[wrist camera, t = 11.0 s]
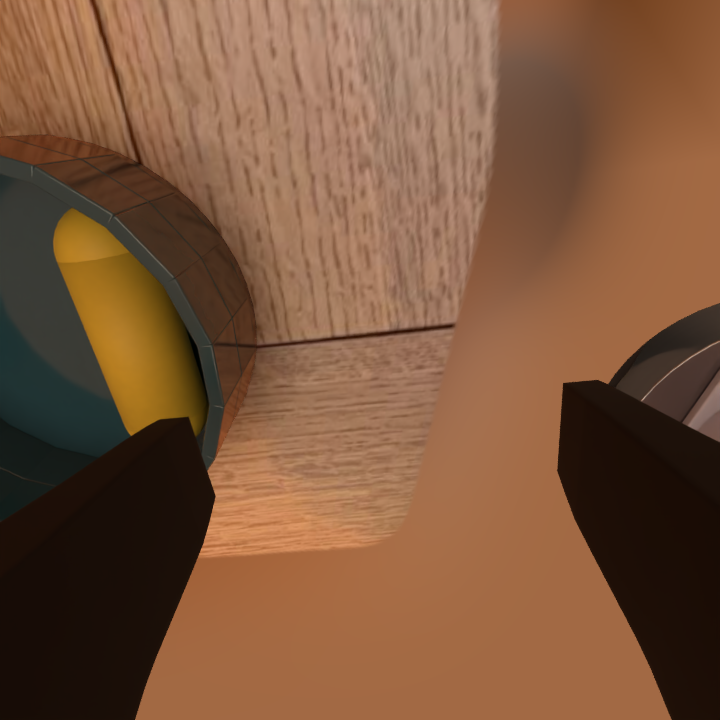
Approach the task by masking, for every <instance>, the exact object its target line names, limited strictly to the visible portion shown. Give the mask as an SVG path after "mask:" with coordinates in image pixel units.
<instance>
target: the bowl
mask: <svg viewBox="0 0 720 720" xmlns="http://www.w3.org/2000/svg"><path fill="white" fill-rule="evenodd" d="M71 208H74V209H76V210H77V211H79V212H81V213H82V214H84V215H85V216H87V217H89V218H90V219H92V220H94V221H95V222H97V223H99V224H100V225H102V226H104V227H105V228H107V230H108V231H109V232H110V233H111V234H112V235H113V236H114V237H115V238H116V239H117V240H118V241H119V242H120V243H121V244H122V245H123V246H124V247H125V248H126V249H127V250H128V251H129V252H130V253H131V254H132V255H133V256H134V257H135V258H136V259H137V260H138V261H139V262H140V263H141V264H142V265H143V266H144V267H145V268H146V269H147V270H148V271H149V272H150V273H151V274H152V275H153V276H154V277H155V278H156V279H157V280H158V281H159V282H160V283H161V284H162V285H163V287H164V289H165V290H166V292H167V294H168V296H169V298H170V299H171V301H172V303H173V305H174V306H175V308H176V310H177V312H178V313H179V315H180V317H181V319H182V321H183V322H184V324H185V327H186V330H187V333H188V337H189V340H190V343H191V346H192V350H193V353H194V356H195V359H196V362H197V366H198V369H199V372H200V375H201V378H202V382H203V385H204V388H205V391H206V394H207V398H208V403H209V410H208V416H207V421H206V424H205V426H204V428H203V429H202V431H201V433H200V434H199V435H198V436H197V437H196V440H197V443H198V446H199V449H200V451H201V454H202V457H203V460H204V463H205V466H206V469H207V470H208V469H209V467H210V466H211V464H212V463H213V461H214V460H215V458H216V456H217V454H218V452H219V450H220V448H221V446H222V444H223V442H224V440H225V438H226V436H227V433H228V431H229V429H230V427H231V425H232V423H233V421H234V419H235V417H236V415H237V413H238V411H239V409H240V407H241V405H242V403H243V401H244V399H245V397H246V394H247V390H248V385H249V383H250V379H251V376H252V372H253V369H254V365H255V357H256V349H257V337H256V322H255V316H254V310H253V304H252V301H251V298H250V294H249V291H248V288H247V284H246V282H245V280H244V277H243V275H242V273H241V271H240V268H239V266H238V264H237V262H236V260H235V258H234V257H233V255H232V253H231V252H230V250H229V248H228V247H227V245H226V243H225V242H224V240H223V239H222V237H221V236H220V235H219V233H218V232H217V231H216V229H215V228H214V227H213V225H212V224H211V223H210V222H209V220H208V219H207V218H206V217H205V216H204V215H203V214H202V213H201V212H200V211H199V210H198V209H197V207H196V206H195V205H194V204H193V203H192V202H191V201H190V200H189V199H188V198H187V197H185V196H184V195H183V194H182V193H181V192H179V191H178V190H177V189H176V188H175V187H173V186H172V185H171V184H170V183H169V182H167V181H166V180H164V179H163V178H161V177H160V176H158V175H157V174H155V173H154V172H152V171H151V170H149V169H148V168H146V167H145V166H143V165H141V164H139V163H137V162H135V161H133V160H131V159H129V158H127V157H125V156H123V155H121V154H119V153H117V152H114V151H111V150H109V149H106V148H103V147H100V146H98V145H95V144H92V143H88V142H83V141H79V140H74V139H70V138H66V137H56V136H53V135H26V136H4V137H0V522H1V521H3V520H4V519H6V518H7V517H9V516H10V515H12V514H14V513H15V512H17V511H18V510H20V509H21V508H23V507H25V506H26V505H28V504H29V503H31V502H32V501H34V500H36V499H37V498H39V497H40V496H42V495H43V494H45V493H47V492H48V491H50V490H51V489H53V488H54V487H56V486H57V485H59V484H61V483H62V482H64V481H65V480H67V479H68V478H69V477H71V476H72V475H74V474H75V473H77V472H78V471H80V470H81V469H83V468H84V467H86V466H87V465H89V464H90V463H92V462H93V461H95V460H96V459H98V458H99V457H100V456H102V455H103V454H105V453H106V452H108V451H109V450H111V449H112V448H114V447H115V446H117V445H118V444H120V443H121V442H123V441H124V440H126V439H127V438H129V437H130V436H131V435H130V434H129V433H128V431H127V430H126V428H125V426H124V424H123V421H122V419H121V416H120V414H119V411H118V409H117V407H116V404H115V402H114V399H113V397H112V394H111V392H110V390H109V387H108V385H107V382H106V380H105V377H104V375H103V373H102V370H101V368H100V365H99V363H98V360H97V358H96V356H95V353H94V351H93V348H92V346H91V343H90V341H89V339H88V336H87V334H86V331H85V329H84V326H83V324H82V322H81V319H80V317H79V314H78V312H77V309H76V307H75V305H74V302H73V300H72V297H71V295H70V292H69V290H68V288H67V285H66V283H65V280H64V278H63V275H62V273H61V271H60V268H59V266H58V263H57V261H56V257H55V254H54V248H53V238H54V232H55V229H56V227H57V224H58V222H59V220H60V219H61V218H62V216H63V215H64V214H65V213H66V212H67V211H68V210H70V209H71Z"/></svg>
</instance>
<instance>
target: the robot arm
mask: <svg viewBox="0 0 720 720" xmlns="http://www.w3.org/2000/svg"><path fill="white" fill-rule="evenodd" d="M557 471H558V474H559V477H560V480H561V483H562V486H563V489H564V492H565V494H566V497H567V500H568V503H569V505H570V508H571V511H572V513H573V516H574V519H575V521H576V523H577V525H578V527H579V529H580V531H581V533H582V535H583V536H584V538H585V540H586V542H587V544H588V546H589V548H590V550H591V552H592V554H593V556H594V558H595V560H596V562H597V564H598V565H599V567H600V569H601V571H602V573H603V575H604V577H605V579H606V581H607V583H608V585H609V587H610V588H611V590H612V592H613V594H614V596H615V598H616V600H617V602H618V604H619V606H620V608H621V610H622V611H623V613H624V615H625V617H626V619H627V621H628V623H629V625H630V627H631V629H632V631H633V632H634V634H635V636H636V638H637V641H638V643H639V645H640V646H641V649H642V651H643V653H644V655H645V657H646V659H647V661H648V664H649V666H650V668H651V670H652V673H653V675H654V678H655V680H656V683H657V685H658V687H659V690H660V692H661V695H662V697H663V700H664V702H665V705H666V707H667V709H668V712H669V714H670V716H671V719H672V720H720V370H719V371H718V373H717V374H716V376H715V377H714V378H713V380H712V381H711V383H710V384H709V385H708V387H707V388H706V390H705V391H704V393H703V394H702V395H701V397H700V398H699V400H698V401H697V402H696V404H695V405H694V407H693V408H692V410H691V411H690V412H689V414H688V415H687V417H686V418H685V419H684V421H683V422H682V423H681V422H679V421H677V420H675V419H673V418H672V417H670V416H668V415H666V414H664V413H662V412H660V411H658V410H656V409H655V408H653V407H651V406H649V405H647V404H645V403H643V402H641V401H639V400H638V399H636V398H634V397H632V396H630V395H628V394H626V393H624V392H622V391H620V390H618V389H616V388H614V387H612V386H610V385H608V384H606V383H604V382H601V381H599V380H592V381H581V382H569V383H563V394H562V409H561V424H560V439H559V454H558V469H557ZM215 497H216V496H215V493H214V490H213V487H212V484H211V481H210V478H209V475H208V472H207V469H206V466H205V463H204V460H203V457H202V454H201V451H200V449H199V446H198V443H197V440H196V437H195V434H194V431H193V428H192V425H191V422H190V419H189V417H179V418H168V419H159V420H157V421H155V422H153V423H152V424H150V425H148V426H146V427H145V428H143V429H141V430H140V431H138V432H137V433H135V434H133V435H132V436H130V437H129V438H127V439H126V440H124V441H123V442H121V443H120V444H118V445H117V446H115V447H114V448H112V449H111V450H109V451H108V452H106V453H105V454H103V455H102V456H100V457H99V458H98V459H96V460H95V461H93V462H92V463H90V464H89V465H87V466H86V467H84V468H83V469H81V470H80V471H78V472H77V473H75V474H74V475H72V476H71V477H69V478H68V479H67V480H65V481H64V482H62V483H61V484H59V485H57V486H56V487H54V488H53V489H51V490H50V491H48V492H47V493H45V494H43V495H42V496H40V497H39V498H37V499H36V500H34V501H32V502H31V503H29V504H28V505H26V506H25V507H23V508H21V509H20V510H18V511H17V512H15V513H14V514H12V515H10V516H9V517H7V518H6V519H4V520H3V521H1V522H0V720H135V718H136V715H137V711H138V708H139V705H140V701H141V699H142V695H143V692H144V689H145V686H146V683H147V680H148V677H149V675H150V672H151V670H152V667H153V664H154V661H155V659H156V656H157V654H158V651H159V649H160V647H161V645H162V642H163V640H164V637H165V635H166V633H167V630H168V628H169V625H170V623H171V621H172V618H173V616H174V613H175V611H176V609H177V606H178V604H179V602H180V599H181V597H182V594H183V592H184V589H185V587H186V585H187V582H188V580H189V578H190V575H191V573H192V570H193V568H194V565H195V563H196V560H197V558H198V556H199V553H200V550H201V548H202V545H203V543H204V539H205V536H206V532H207V528H208V525H209V521H210V517H211V513H212V509H213V505H214V501H215Z"/></svg>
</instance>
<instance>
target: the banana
mask: <svg viewBox="0 0 720 720" xmlns="http://www.w3.org/2000/svg"><path fill="white" fill-rule="evenodd" d="M53 248H54V254H55V257H56V261H57V263H58V266H59V268H60V271H61V273H62V275H63V278H64V280H65V283H66V285H67V288H68V290H69V292H70V295H71V297H72V300H73V302H74V305H75V307H76V309H77V312H78V314H79V317H80V319H81V322H82V324H83V326H84V329H85V331H86V334H87V336H88V339H89V341H90V343H91V346H92V348H93V351H94V353H95V356H96V358H97V360H98V363H99V365H100V368H101V370H102V373H103V375H104V377H105V380H106V382H107V385H108V387H109V390H110V392H111V394H112V397H113V399H114V402H115V404H116V407H117V409H118V411H119V414H120V416H121V419H122V421H123V424H124V426H125V428H126V430H127V431H128V433H129V434H130V435H131V436H132V435H133V434H135V433H137V432H138V431H140V430H141V429H143V428H145V427H146V426H148V425H150V424H152V423H153V422H155V421H157V420H159V419H168V418H179V417H189V419H190V422H191V425H192V428H193V431H194V434H195V437H197V436H198V435H199V434H200V433H201V431H202V429H203V428H204V426H205V424H206V421H207V416H208V410H209V403H208V398H207V394H206V391H205V388H204V385H203V382H202V378H201V375H200V372H199V369H198V366H197V362H196V359H195V356H194V353H193V350H192V346H191V343H190V340H189V337H188V333H187V330H186V327H185V324H184V322H183V321H182V319H181V317H180V315H179V313H178V312H177V310H176V308H175V306H174V305H173V303H172V301H171V299H170V298H169V296H168V294H167V292H166V290H165V289H164V287H163V285H162V284H161V283H160V282H159V281H158V280H157V279H156V278H155V277H154V276H153V275H152V274H151V273H150V272H149V271H148V270H147V269H146V268H145V267H144V266H143V265H142V264H141V263H140V262H139V261H138V260H137V259H136V258H135V257H134V256H133V255H132V254H131V253H130V252H129V251H128V250H127V249H126V248H125V247H124V246H123V245H122V244H121V243H120V242H119V241H118V240H117V239H116V238H115V237H114V236H113V235H112V234H111V233H110V232H109V231H108V230H107V228H105V227H104V226H102V225H100V224H99V223H97V222H95V221H94V220H92V219H90V218H89V217H87V216H85V215H84V214H82V213H81V212H79V211H77V210H76V209H74V208H71V209H70V210H68V211H67V212H66V213H65V214H64V215H63V216H62V218H61V219H60V220H59V222H58V224H57V227H56V229H55V232H54V238H53Z"/></svg>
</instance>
